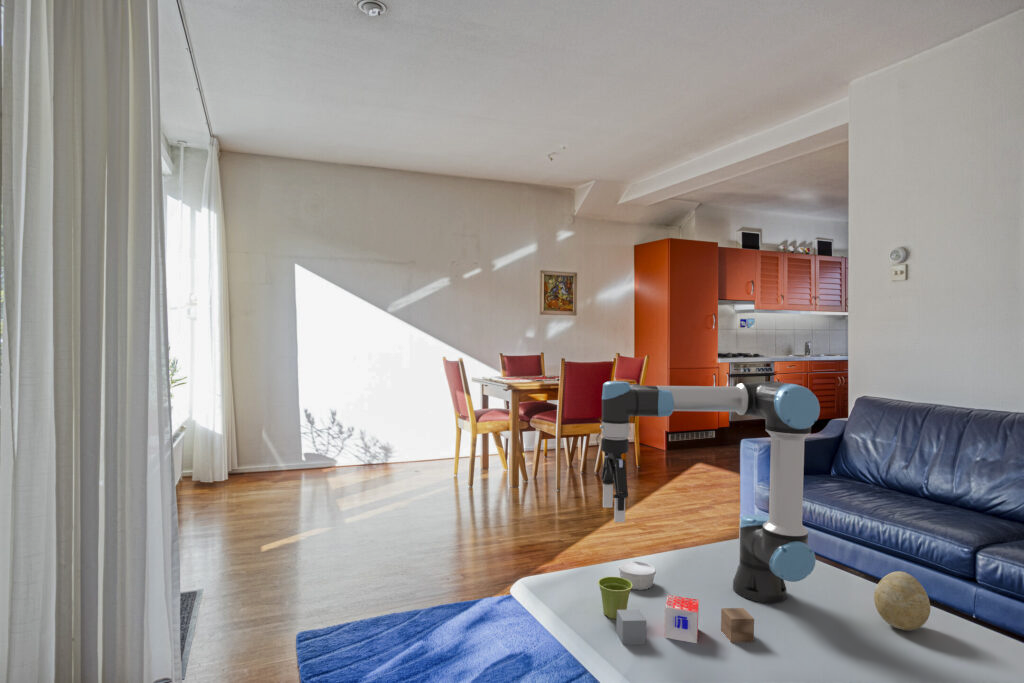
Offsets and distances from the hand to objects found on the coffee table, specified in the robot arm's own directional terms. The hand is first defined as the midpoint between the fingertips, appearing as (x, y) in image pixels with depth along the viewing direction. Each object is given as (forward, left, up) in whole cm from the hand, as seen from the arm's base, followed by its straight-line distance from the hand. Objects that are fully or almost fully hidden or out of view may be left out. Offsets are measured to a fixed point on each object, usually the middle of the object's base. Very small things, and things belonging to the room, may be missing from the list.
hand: (613, 514), depth 165 cm
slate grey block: (-2, +13, -28) cm, 31 cm away
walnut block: (-30, +13, -28) cm, 43 cm away
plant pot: (-1, 0, -28) cm, 28 cm away
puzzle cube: (-16, +11, -28) cm, 34 cm away
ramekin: (-13, -20, -28) cm, 37 cm away
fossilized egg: (-77, +10, -28) cm, 83 cm away
